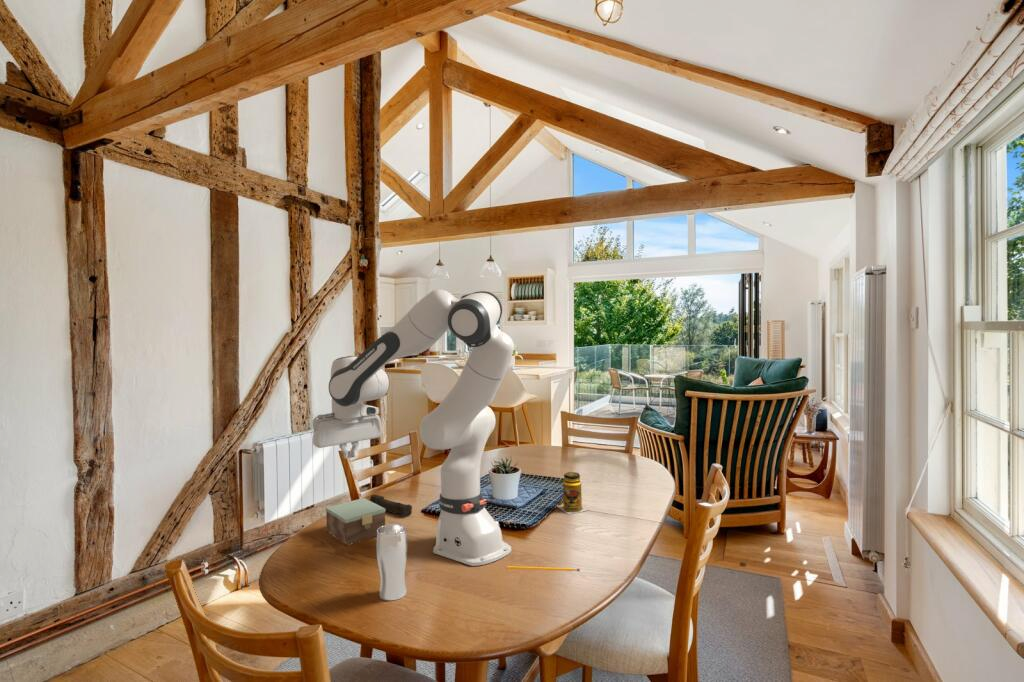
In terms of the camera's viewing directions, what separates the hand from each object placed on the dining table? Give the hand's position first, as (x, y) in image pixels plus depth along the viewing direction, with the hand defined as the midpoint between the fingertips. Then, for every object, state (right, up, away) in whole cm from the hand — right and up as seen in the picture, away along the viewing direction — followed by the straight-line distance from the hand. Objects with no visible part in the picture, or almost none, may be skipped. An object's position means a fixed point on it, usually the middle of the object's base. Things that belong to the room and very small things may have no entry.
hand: (349, 457), depth 149 cm
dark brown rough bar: (+6, -24, +20) cm, 32 cm away
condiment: (+68, -22, +20) cm, 74 cm away
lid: (+1, -19, +2) cm, 19 cm away
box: (+1, -23, +3) cm, 24 cm away
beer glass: (+21, -24, -34) cm, 46 cm away
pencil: (+56, -23, -23) cm, 65 cm away
